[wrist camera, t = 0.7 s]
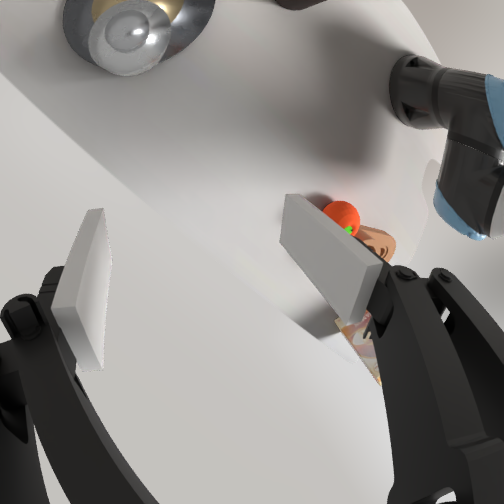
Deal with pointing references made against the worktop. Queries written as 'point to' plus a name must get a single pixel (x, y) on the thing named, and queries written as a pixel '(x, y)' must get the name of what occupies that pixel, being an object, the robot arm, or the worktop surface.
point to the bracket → (377, 241)
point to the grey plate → (173, 3)
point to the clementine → (343, 215)
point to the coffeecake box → (361, 343)
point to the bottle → (298, 3)
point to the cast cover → (130, 37)
